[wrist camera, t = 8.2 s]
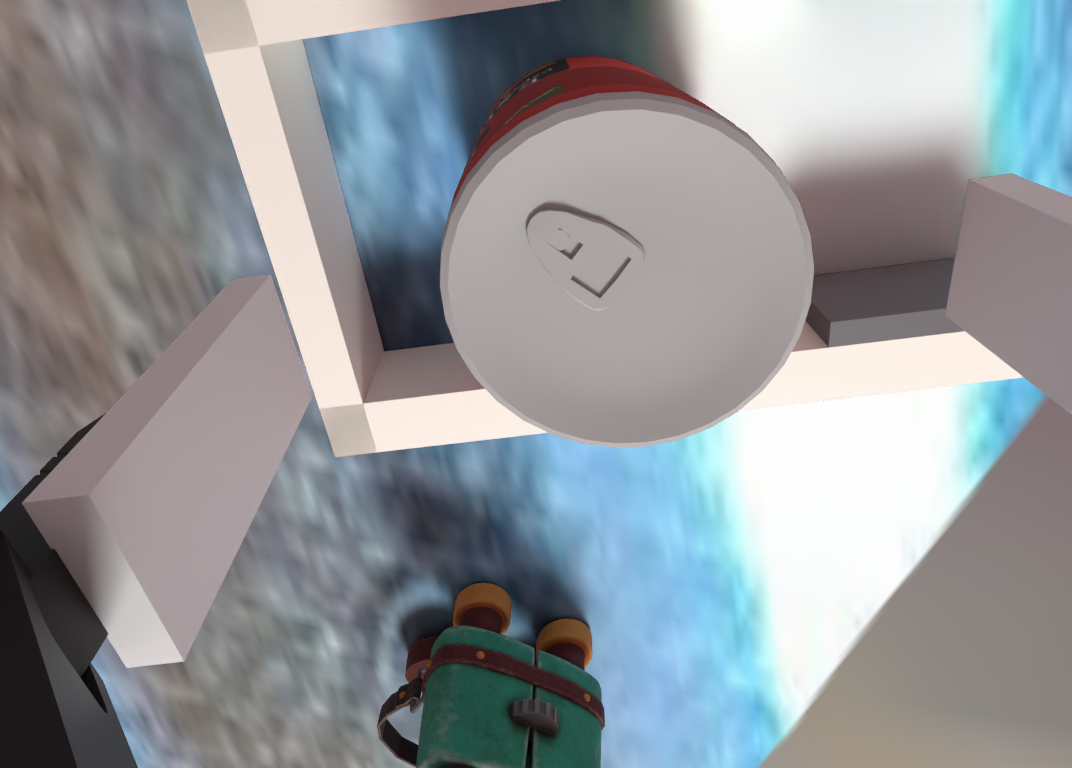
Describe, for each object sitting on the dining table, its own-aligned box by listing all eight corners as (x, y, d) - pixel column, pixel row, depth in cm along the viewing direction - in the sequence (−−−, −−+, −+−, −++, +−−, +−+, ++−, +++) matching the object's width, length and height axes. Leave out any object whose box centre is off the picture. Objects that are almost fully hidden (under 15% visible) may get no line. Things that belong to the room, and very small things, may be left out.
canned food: (514, 14, 22) (503, 26, 12) (744, 107, 23) (897, 186, 14) (444, 241, 25) (392, 391, 16) (648, 311, 27) (715, 489, 17)
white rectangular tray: (233, -29, 21) (175, -34, 18) (1059, -158, 20) (1173, -191, 16) (359, 400, 28) (335, 457, 25) (971, 326, 27) (1037, 375, 23)
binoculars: (318, 897, 28) (426, 794, 23) (379, 664, 37) (467, 553, 32) (512, 952, 30) (648, 869, 25) (526, 720, 39) (629, 625, 34)
